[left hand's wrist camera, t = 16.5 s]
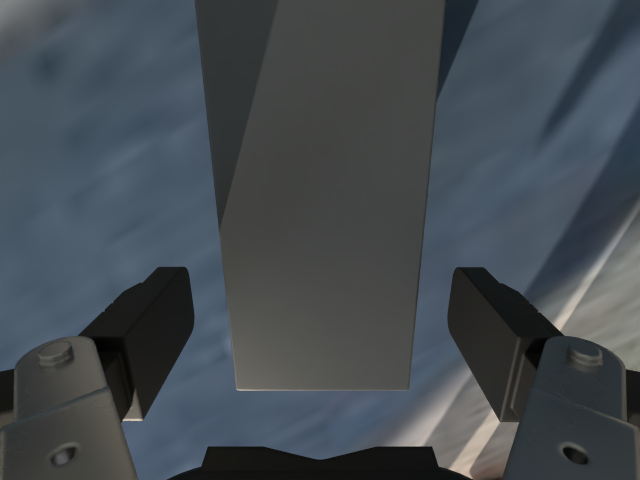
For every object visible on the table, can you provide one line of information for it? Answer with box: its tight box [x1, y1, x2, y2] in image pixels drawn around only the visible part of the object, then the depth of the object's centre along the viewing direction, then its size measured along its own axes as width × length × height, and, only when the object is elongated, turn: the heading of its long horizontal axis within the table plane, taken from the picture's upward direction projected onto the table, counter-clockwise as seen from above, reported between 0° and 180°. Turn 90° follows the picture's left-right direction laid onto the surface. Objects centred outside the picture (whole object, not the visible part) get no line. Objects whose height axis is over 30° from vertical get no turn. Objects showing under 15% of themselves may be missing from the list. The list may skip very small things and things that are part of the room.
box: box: [195, 0, 446, 390], centre depth 13 cm, size 24×6×11 cm, turn 0°
